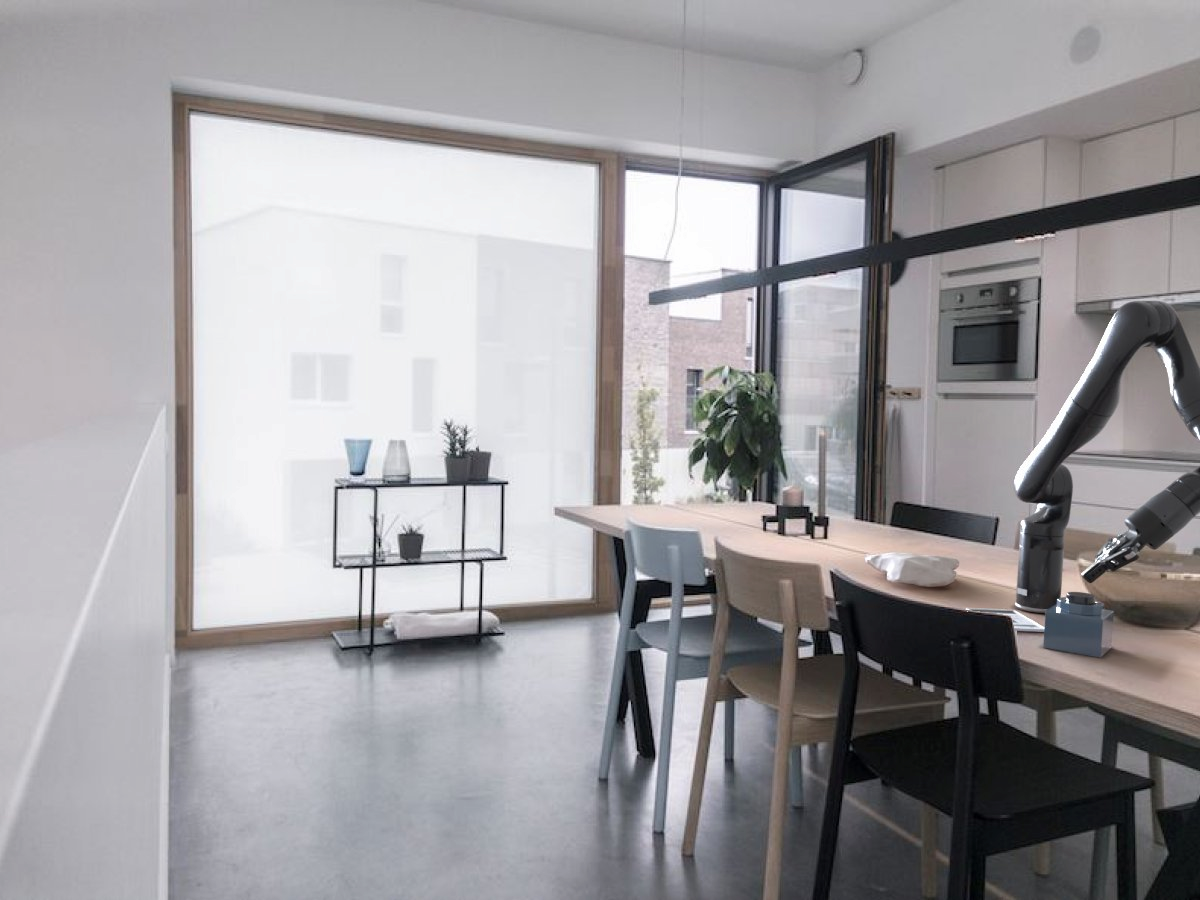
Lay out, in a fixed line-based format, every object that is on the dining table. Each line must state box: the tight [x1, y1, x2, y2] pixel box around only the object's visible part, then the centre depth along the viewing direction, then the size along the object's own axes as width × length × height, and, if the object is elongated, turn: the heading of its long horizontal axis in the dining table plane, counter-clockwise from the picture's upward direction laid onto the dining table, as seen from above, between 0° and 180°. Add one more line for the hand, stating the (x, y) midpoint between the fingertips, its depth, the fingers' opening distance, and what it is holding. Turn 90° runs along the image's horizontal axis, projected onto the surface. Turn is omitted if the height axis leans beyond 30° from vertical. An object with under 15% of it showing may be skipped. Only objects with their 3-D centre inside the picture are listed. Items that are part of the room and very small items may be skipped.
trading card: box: [965, 607, 1045, 633], centre depth 211 cm, size 11×1×18 cm
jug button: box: [1065, 591, 1096, 605], centre depth 190 cm, size 5×5×2 cm
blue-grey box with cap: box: [1042, 596, 1115, 658], centre depth 191 cm, size 10×10×9 cm
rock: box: [864, 551, 960, 588], centre depth 257 cm, size 8×23×30 cm
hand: (1085, 579), depth 190 cm, fingers closed
